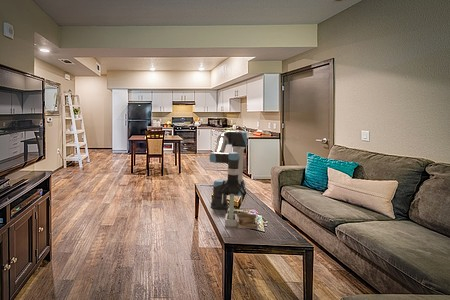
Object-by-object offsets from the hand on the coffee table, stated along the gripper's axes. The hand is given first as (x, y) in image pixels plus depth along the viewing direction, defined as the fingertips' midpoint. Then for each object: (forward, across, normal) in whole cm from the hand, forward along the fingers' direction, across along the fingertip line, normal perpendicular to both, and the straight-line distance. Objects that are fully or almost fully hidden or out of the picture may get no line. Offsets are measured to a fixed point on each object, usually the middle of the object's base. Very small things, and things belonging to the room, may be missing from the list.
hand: (231, 203), depth 240 cm
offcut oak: (+11, +11, -5) cm, 16 cm away
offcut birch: (+15, +11, -5) cm, 20 cm away
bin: (+15, 0, 0) cm, 15 cm away
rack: (+15, +11, -2) cm, 19 cm away
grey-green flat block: (+14, 0, 0) cm, 14 cm away
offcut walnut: (+13, +11, -5) cm, 17 cm away
